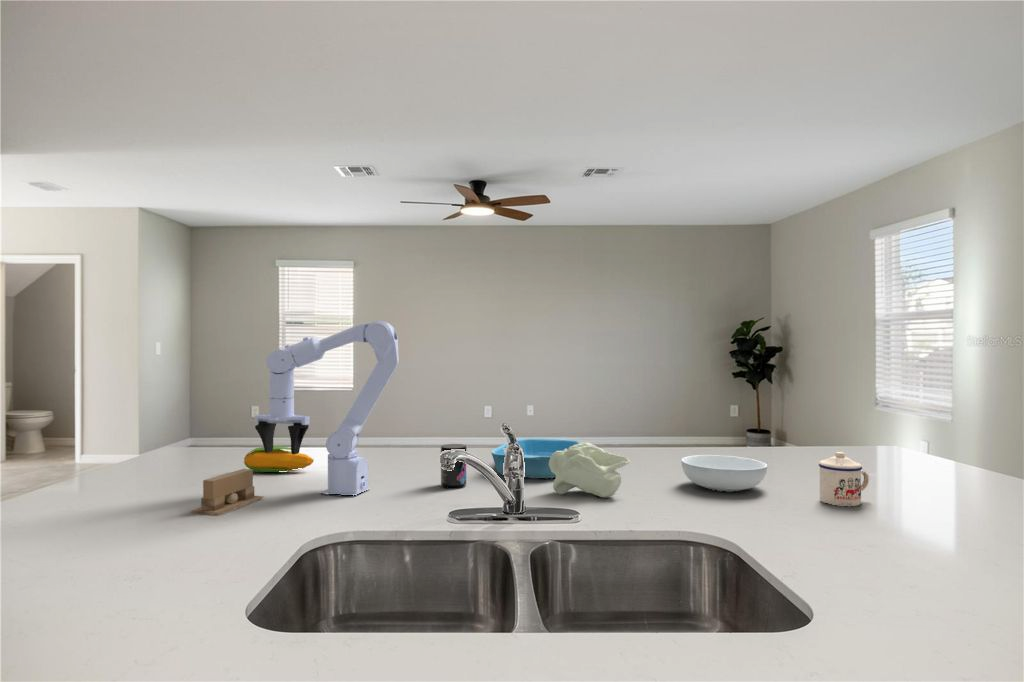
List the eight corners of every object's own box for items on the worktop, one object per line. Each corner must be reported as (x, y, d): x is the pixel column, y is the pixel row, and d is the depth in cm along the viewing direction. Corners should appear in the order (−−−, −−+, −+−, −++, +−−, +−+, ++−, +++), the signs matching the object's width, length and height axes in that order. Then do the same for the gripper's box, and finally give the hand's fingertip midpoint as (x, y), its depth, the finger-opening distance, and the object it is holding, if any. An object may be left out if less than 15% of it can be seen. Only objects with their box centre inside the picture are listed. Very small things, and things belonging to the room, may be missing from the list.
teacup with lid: (836, 508, 146) (836, 456, 146) (810, 498, 155) (810, 449, 155) (882, 505, 149) (882, 454, 148) (854, 496, 157) (854, 448, 157)
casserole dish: (518, 456, 211) (518, 434, 211) (586, 460, 205) (586, 437, 205) (481, 480, 176) (481, 454, 176) (562, 485, 170) (562, 458, 170)
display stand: (263, 498, 154) (263, 485, 154) (218, 515, 140) (217, 501, 140) (238, 496, 156) (238, 484, 156) (191, 512, 142) (191, 498, 142)
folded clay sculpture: (605, 518, 162) (631, 461, 165) (604, 518, 150) (632, 457, 152) (541, 485, 167) (568, 430, 169) (535, 482, 155) (563, 424, 157)
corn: (250, 443, 189) (318, 443, 189) (251, 468, 190) (318, 469, 189) (239, 449, 182) (309, 449, 181) (239, 475, 182) (310, 476, 182)
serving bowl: (780, 498, 156) (780, 469, 156) (692, 497, 156) (692, 469, 156) (750, 479, 176) (750, 454, 176) (673, 479, 177) (673, 453, 177)
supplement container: (454, 490, 163) (454, 449, 163) (435, 486, 167) (435, 446, 167) (472, 485, 169) (472, 445, 169) (452, 482, 173) (452, 443, 173)
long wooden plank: (252, 486, 154) (252, 469, 154) (213, 499, 142) (213, 481, 142) (242, 485, 155) (242, 468, 155) (202, 498, 142) (202, 480, 142)
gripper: (246, 398, 159) (246, 454, 159) (297, 400, 155) (297, 457, 155) (264, 396, 165) (265, 449, 165) (314, 397, 161) (314, 452, 161)
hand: (282, 452), depth 161 cm, fingers open, 7 cm apart
